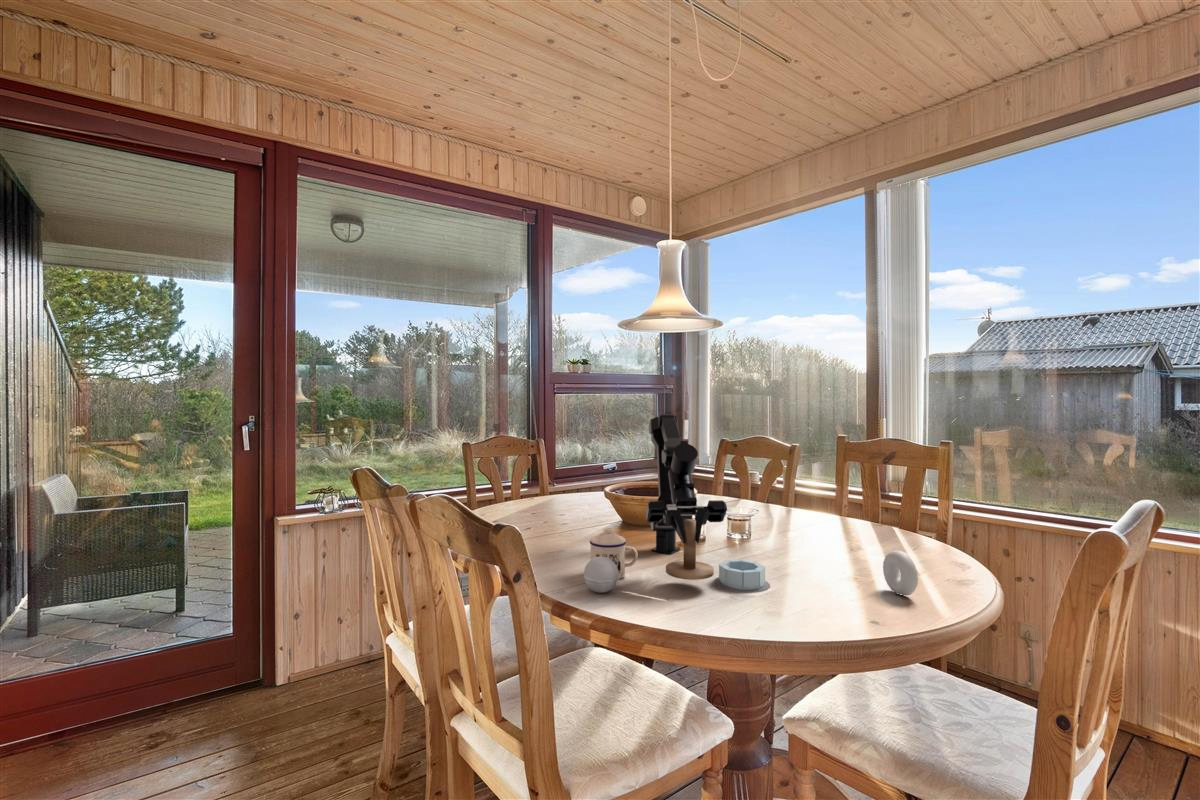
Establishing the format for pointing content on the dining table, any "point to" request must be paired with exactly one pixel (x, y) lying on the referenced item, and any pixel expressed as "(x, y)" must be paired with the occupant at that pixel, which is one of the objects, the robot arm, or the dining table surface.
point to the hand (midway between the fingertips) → (691, 542)
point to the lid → (689, 558)
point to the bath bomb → (601, 574)
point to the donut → (907, 569)
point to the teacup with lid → (612, 549)
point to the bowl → (742, 574)
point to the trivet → (764, 588)
